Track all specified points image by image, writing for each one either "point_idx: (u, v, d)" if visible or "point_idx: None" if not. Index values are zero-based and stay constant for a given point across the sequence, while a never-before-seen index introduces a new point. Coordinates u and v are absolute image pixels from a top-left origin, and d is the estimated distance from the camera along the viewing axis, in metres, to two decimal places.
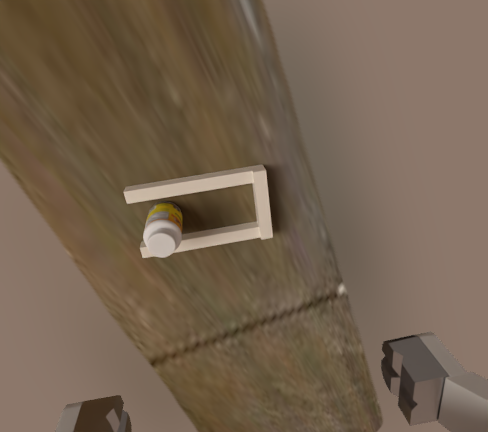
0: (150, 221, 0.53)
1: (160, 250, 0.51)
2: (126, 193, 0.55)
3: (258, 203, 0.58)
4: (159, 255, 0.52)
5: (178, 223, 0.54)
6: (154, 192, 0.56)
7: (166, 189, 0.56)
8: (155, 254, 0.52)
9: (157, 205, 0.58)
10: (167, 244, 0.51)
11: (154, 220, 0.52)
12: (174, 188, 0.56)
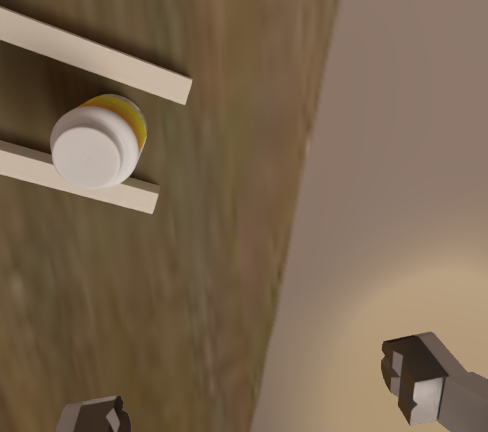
0: None
1: (94, 150, 0.22)
2: (149, 209, 0.32)
3: None
4: (102, 139, 0.22)
5: None
6: (102, 191, 0.31)
7: None
8: (109, 146, 0.22)
9: None
10: (71, 156, 0.22)
11: None
12: (63, 181, 0.30)
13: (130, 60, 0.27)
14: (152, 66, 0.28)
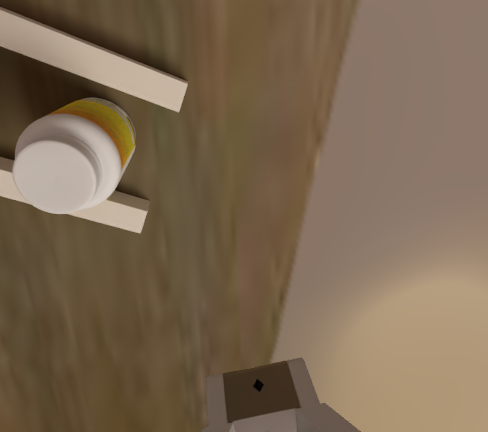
0: None
1: (64, 168, 0.18)
2: (136, 228, 0.29)
3: None
4: (73, 156, 0.18)
5: None
6: None
7: None
8: (83, 164, 0.18)
9: None
10: (36, 174, 0.18)
11: None
12: None
13: (115, 59, 0.23)
14: (141, 67, 0.24)
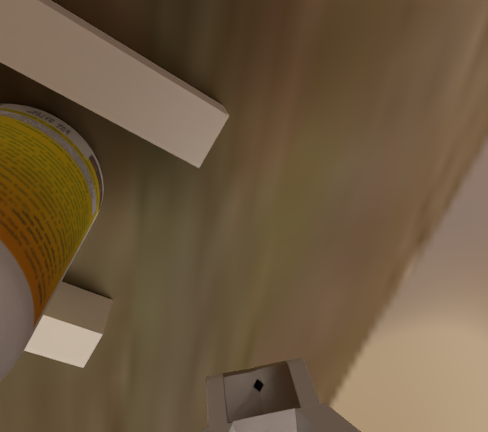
0: None
1: None
2: (77, 360, 0.15)
3: None
4: None
5: None
6: None
7: None
8: None
9: None
10: None
11: None
12: None
13: (79, 35, 0.10)
14: (136, 63, 0.11)
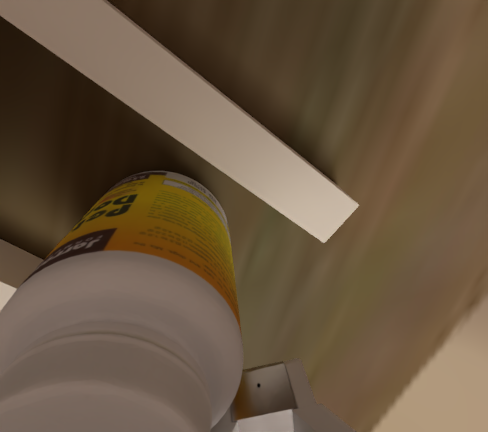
0: None
1: None
2: None
3: None
4: None
5: None
6: None
7: None
8: None
9: None
10: None
11: None
12: None
13: (260, 136, 0.12)
14: (298, 160, 0.13)
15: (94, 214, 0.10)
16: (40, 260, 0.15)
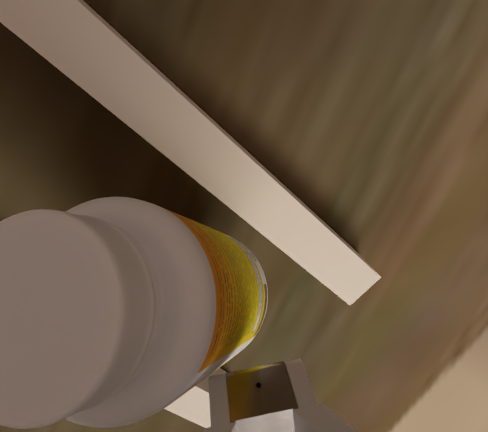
0: None
1: (59, 296, 0.07)
2: (210, 425, 0.19)
3: None
4: (97, 276, 0.06)
5: None
6: None
7: None
8: (105, 308, 0.06)
9: None
10: None
11: None
12: None
13: (312, 222, 0.15)
14: (339, 241, 0.16)
15: None
16: None
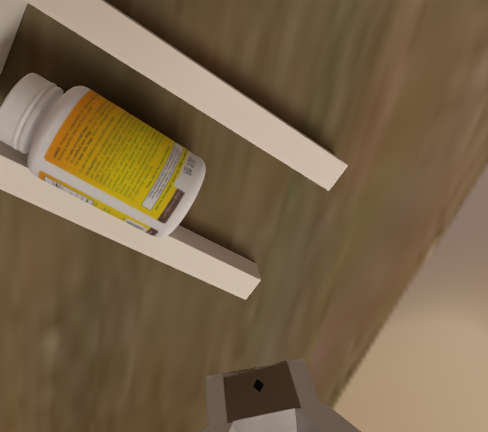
0: None
1: None
2: (243, 294, 0.27)
3: None
4: None
5: None
6: (198, 266, 0.25)
7: (173, 256, 0.24)
8: None
9: None
10: None
11: None
12: (156, 248, 0.24)
13: (286, 129, 0.22)
14: (309, 141, 0.22)
15: None
16: None
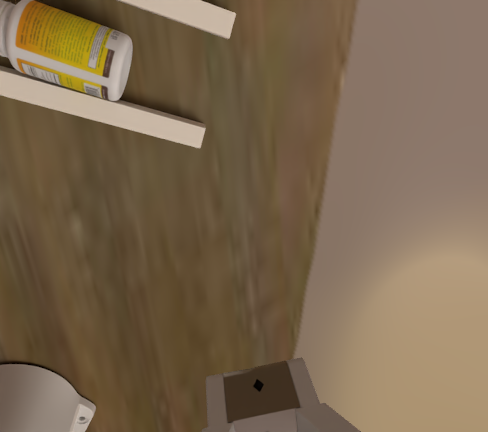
0: (34, 76, 0.30)
1: None
2: (197, 144, 0.35)
3: None
4: None
5: None
6: (155, 126, 0.34)
7: (134, 122, 0.33)
8: None
9: None
10: None
11: None
12: (120, 118, 0.33)
13: None
14: (199, 1, 0.30)
15: None
16: None
